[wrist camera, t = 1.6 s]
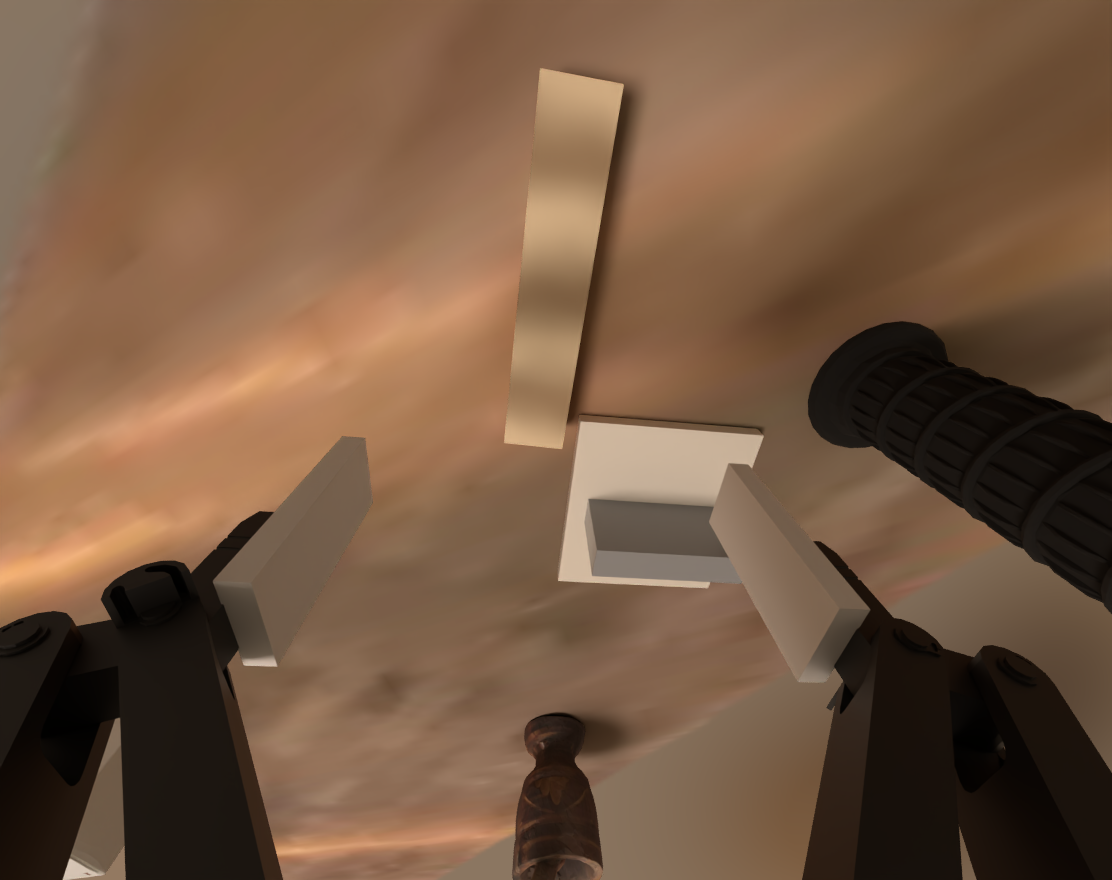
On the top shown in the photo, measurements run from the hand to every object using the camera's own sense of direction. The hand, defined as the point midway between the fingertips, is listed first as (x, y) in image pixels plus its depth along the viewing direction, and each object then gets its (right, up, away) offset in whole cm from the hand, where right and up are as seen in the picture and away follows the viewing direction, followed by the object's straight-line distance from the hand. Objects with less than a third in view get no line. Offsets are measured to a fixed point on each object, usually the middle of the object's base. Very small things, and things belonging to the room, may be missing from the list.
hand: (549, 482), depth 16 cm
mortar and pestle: (-1, -33, +36) cm, 48 cm away
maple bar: (0, +12, +12) cm, 17 cm away
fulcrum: (+8, -4, +21) cm, 23 cm away
